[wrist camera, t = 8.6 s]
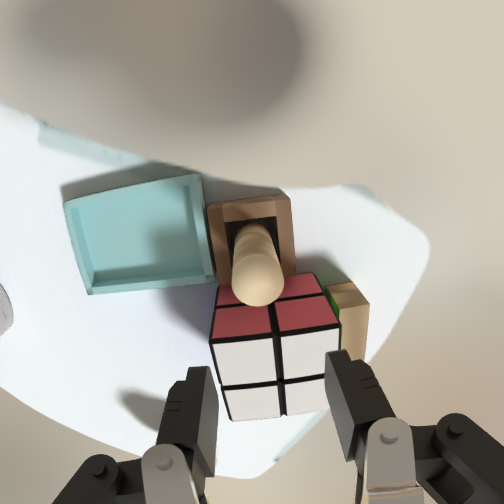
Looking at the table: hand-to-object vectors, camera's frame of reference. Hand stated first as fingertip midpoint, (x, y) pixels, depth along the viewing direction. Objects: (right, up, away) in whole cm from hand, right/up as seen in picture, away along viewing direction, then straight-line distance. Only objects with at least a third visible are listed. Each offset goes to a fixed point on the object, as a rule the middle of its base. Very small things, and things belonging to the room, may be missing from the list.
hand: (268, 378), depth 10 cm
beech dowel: (-1, +6, +18) cm, 19 cm away
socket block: (-1, +6, +18) cm, 19 cm away
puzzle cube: (+1, -2, +22) cm, 22 cm away
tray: (-12, +6, +18) cm, 22 cm away
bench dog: (+9, -2, +22) cm, 24 cm away
